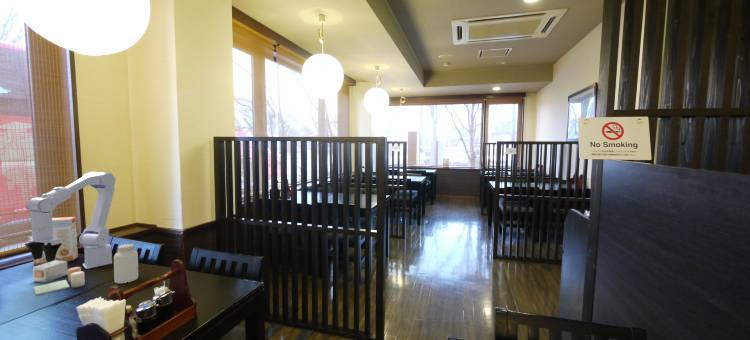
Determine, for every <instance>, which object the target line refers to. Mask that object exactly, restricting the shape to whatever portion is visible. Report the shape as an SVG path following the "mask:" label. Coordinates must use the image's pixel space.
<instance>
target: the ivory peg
mask: <svg viewBox="0 0 750 340" xmlns="http://www.w3.org/2000/svg"><path fill="white" fill-rule="evenodd" d="M85 278H86V277H85V271H83V270H81V271H80V272H75V273H72V274H71V282H70V287H71V288H79V287H83V286H84V285H85Z"/></svg>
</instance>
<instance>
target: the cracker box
mask: <svg viewBox="0 0 750 340" xmlns="http://www.w3.org/2000/svg"><path fill="white" fill-rule="evenodd" d="M52 220H53V236H54V237H55V238H56V239H59V243H61V246H60V247H59V249H58V251H57V254H56V257H55V260H59V261H67V262H71V261H75V259H77V258H78V257H79V256H78V255H79V254H78V253H79V252H78V236H77V235H78V233H77V218H76V216H67V217H52ZM30 222H31V226H32V221H30ZM44 245H47V243H45V244H44ZM32 258H33V257H32ZM45 263H48V262H47V261H46V257H45V253H44V251H43V255H42V258H40V259H36V260H34V258H33V265H35V266H38V265H41V264H45Z"/></svg>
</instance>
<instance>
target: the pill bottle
mask: <svg viewBox="0 0 750 340" xmlns="http://www.w3.org/2000/svg"><path fill="white" fill-rule="evenodd" d="M113 273H114V274H113V277H114V278H113V279H114V283H116V284H126V283H127V282H128V283H131V282H133V281H136V280H138V278H139V253H138V251H137V250H135V244H134V243H124V244H121V245H119V246H117V252H116V253H115V254H114V255H113Z"/></svg>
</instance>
